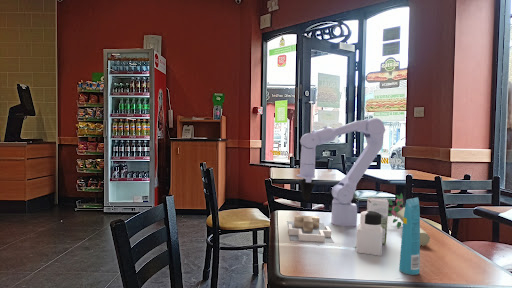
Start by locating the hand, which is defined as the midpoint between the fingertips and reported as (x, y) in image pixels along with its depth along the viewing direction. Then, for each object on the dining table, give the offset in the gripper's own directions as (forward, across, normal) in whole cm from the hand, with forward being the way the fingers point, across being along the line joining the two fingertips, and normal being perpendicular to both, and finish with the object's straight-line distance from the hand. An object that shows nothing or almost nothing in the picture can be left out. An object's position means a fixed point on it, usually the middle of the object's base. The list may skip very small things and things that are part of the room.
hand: (305, 198), depth 141 cm
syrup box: (+10, +19, +22) cm, 31 cm away
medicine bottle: (+10, +30, +17) cm, 36 cm away
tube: (+10, +46, +23) cm, 52 cm away
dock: (+9, +20, 0) cm, 22 cm away
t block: (+9, +10, 0) cm, 13 cm away
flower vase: (+10, +5, +37) cm, 39 cm away
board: (+10, +14, 0) cm, 17 cm away
